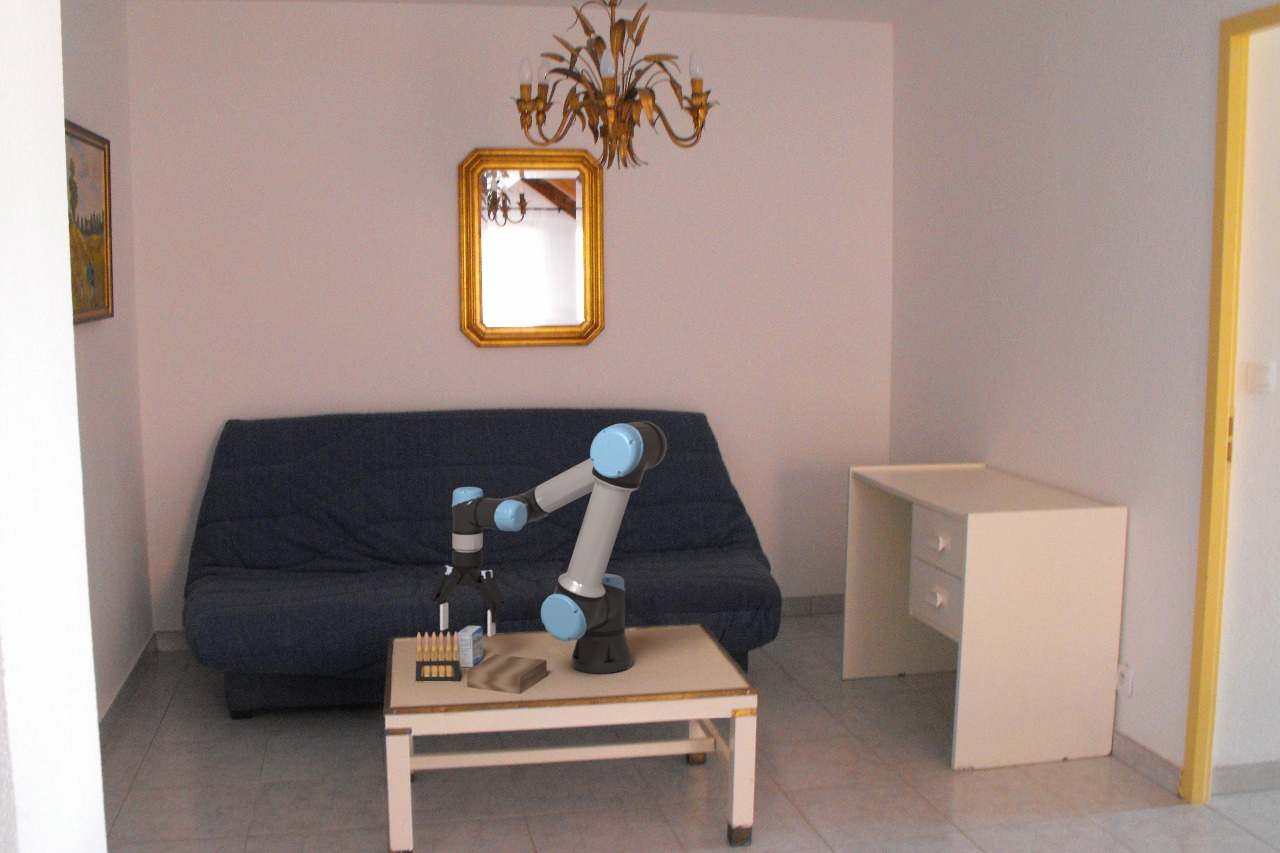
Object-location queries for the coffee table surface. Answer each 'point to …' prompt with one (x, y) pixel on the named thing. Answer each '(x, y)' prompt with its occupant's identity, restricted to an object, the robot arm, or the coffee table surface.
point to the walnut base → (506, 673)
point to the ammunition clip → (438, 659)
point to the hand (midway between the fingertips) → (467, 632)
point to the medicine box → (470, 646)
